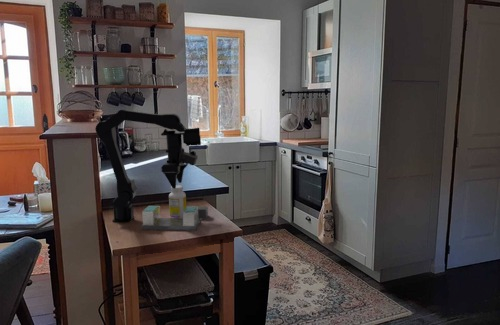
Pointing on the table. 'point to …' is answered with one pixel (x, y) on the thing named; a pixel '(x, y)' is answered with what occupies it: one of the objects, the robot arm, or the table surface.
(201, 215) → the loose gray rectangular block
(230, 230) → the table surface
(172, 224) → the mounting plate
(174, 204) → the supplement bottle
